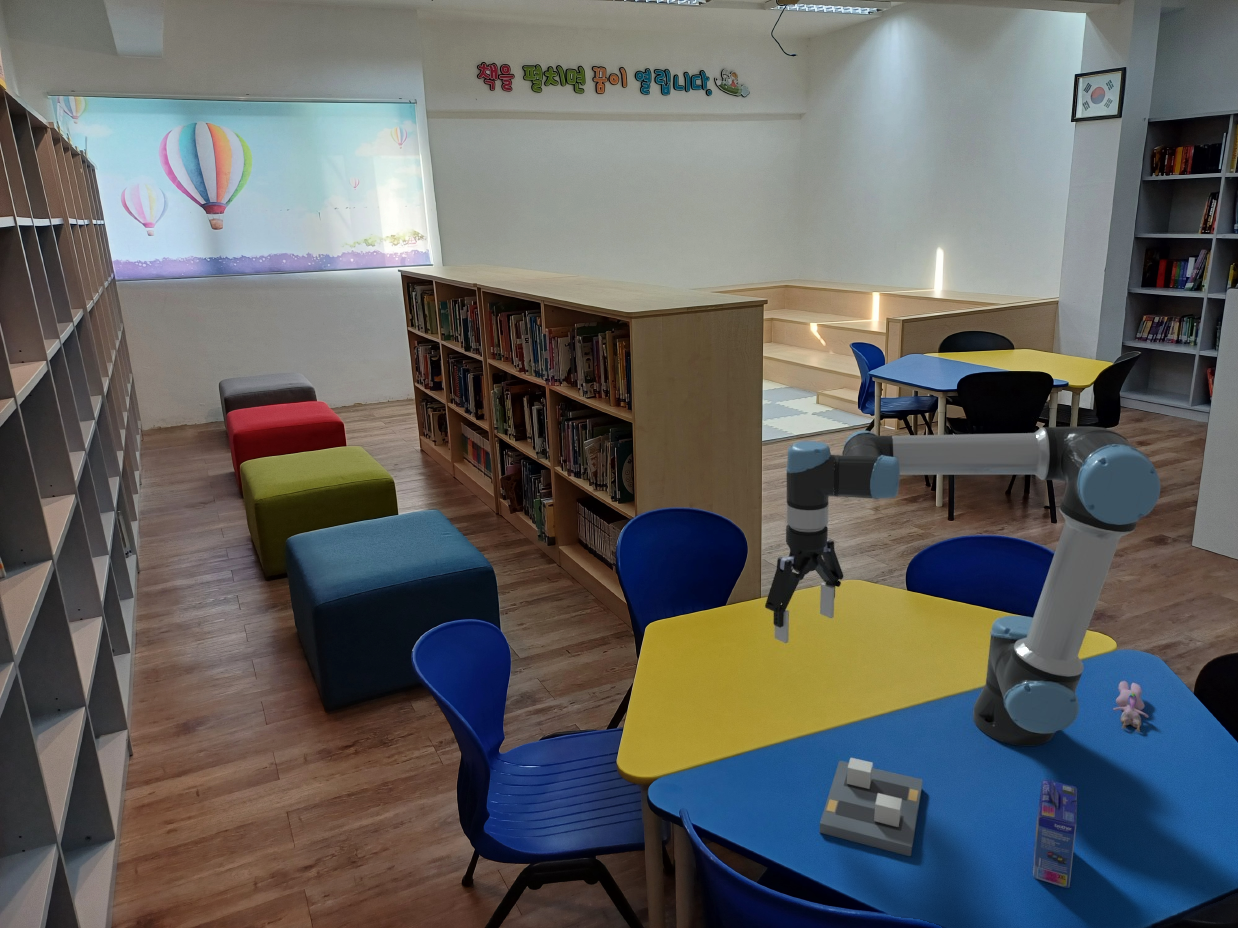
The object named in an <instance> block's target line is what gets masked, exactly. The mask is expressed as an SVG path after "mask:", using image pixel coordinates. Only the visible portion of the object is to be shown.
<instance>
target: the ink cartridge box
mask: <svg viewBox="0 0 1238 928" xmlns="http://www.w3.org/2000/svg"><path fill="white" fill-rule="evenodd" d="M1077 792H1078V788H1077V787H1076V786H1074V785H1070V784H1064V783H1060V782H1056V781H1053V780H1052V779H1049V780H1048V779H1044V778H1043V779H1042V780H1041V786H1040V793H1039V799H1038V800H1039V802H1038V807H1037V808H1038V810H1037V817H1036V830H1035V841H1034V853H1033V855H1034V856H1033V867H1032V868H1033V869H1032V876H1033V878H1034V879H1036V880H1039V881H1043V882H1046V883H1050V884H1053V885H1056V886H1059V887H1061V888H1065V889H1069V888H1070V884H1071V877H1072V876H1071V875H1072V866H1073V859H1074V858H1073V856H1074V849H1075V839H1076V829H1077V801H1078V800H1077V799H1078V798H1077V795H1078V793H1077Z"/></svg>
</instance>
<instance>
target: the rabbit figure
mask: <svg viewBox="0 0 1238 928" xmlns="http://www.w3.org/2000/svg"><path fill="white" fill-rule="evenodd" d="M1118 691H1119V693H1120V694H1119V695H1118V697H1117V698H1116V699H1115V704H1117V705H1118V706H1117V707H1113V709H1112V710H1113V711H1114V712H1116V711H1123V712H1122V713H1121V715H1120V723H1121V724H1122V726H1121V729H1122V730H1123V731H1124V729H1126V730H1128V728H1127V727H1126V726H1129V725H1131V726H1132V727H1133V728H1136V729H1135V731H1134V732H1136V731H1137V732H1141V730H1140V727H1141V726H1142V718H1141V715H1142V716H1144V717H1145V718H1149V714H1147V713H1145V712H1143V711H1142V710H1143V709H1144V708H1145V704H1144V702H1143V700H1142V698H1141V695H1142V693H1143V690H1142V688H1141V685H1140V684H1138V683H1135V682H1132V683H1131V685H1130V686H1129V683H1128V682H1127V681H1125V680H1122V681H1120V683H1119V684H1118Z"/></svg>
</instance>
